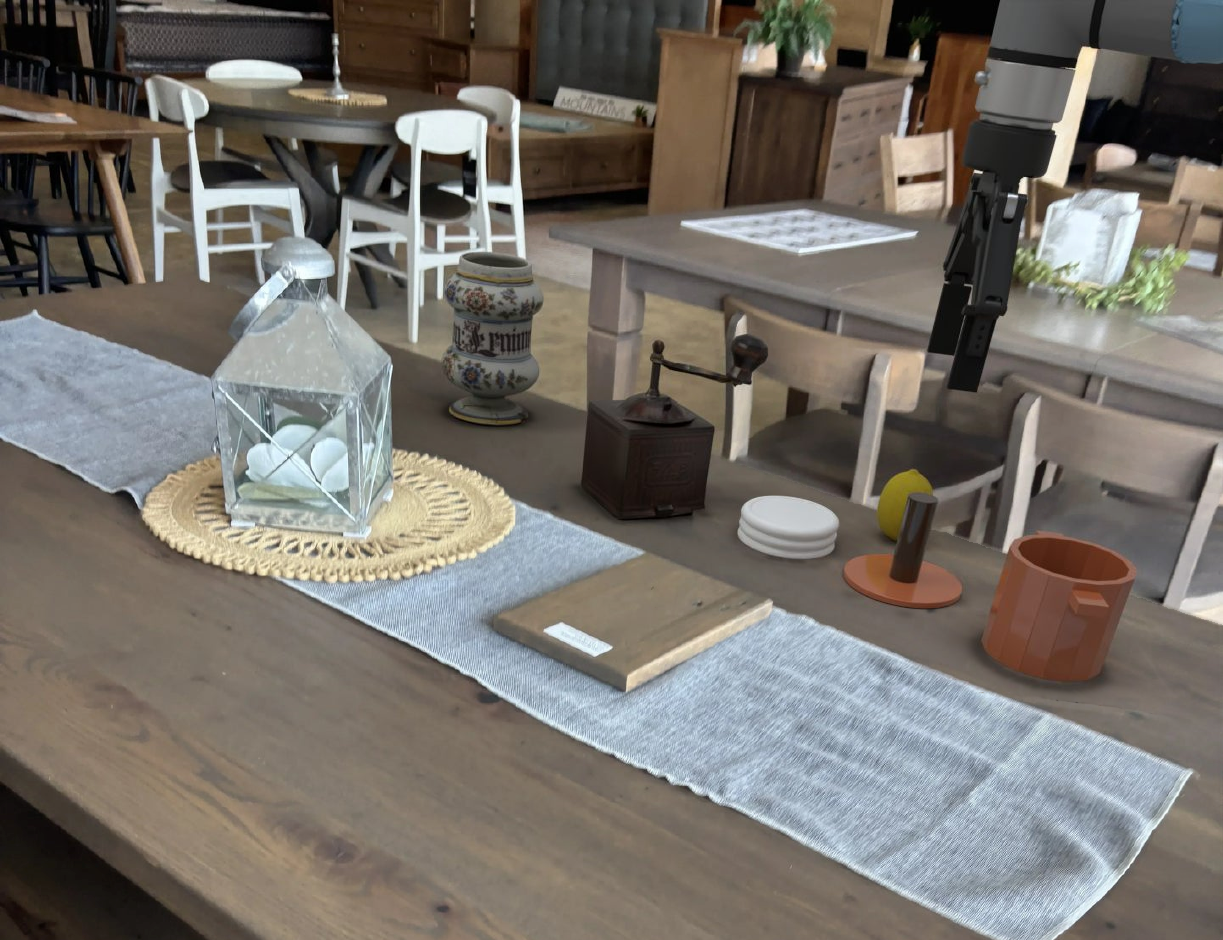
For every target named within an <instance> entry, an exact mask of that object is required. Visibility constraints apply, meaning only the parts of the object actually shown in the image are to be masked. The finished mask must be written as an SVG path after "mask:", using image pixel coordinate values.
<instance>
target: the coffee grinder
mask: <svg viewBox="0 0 1223 940" xmlns="http://www.w3.org/2000/svg"><path fill="white" fill-rule="evenodd" d="M651 347H652V348H651V349H652V352H651V354H650V356H649V361H650V362H651V372H650V381H649V388H648V389H647V391H645V392H640V393H635V394H633V395H631V396H628V397H626V398H625V399H608V400H589V402H588V405H587V416H586V424H585V425H586V427H585V436H584V449H583V458H582V459H583V460H582V469H581V470H582V472H581V479H580V485H581V487H582V488H583V489H584V491H585V492H586V493H587V494H588V495H589V496H591V497H592V498H593V499H594V500H595V501H596V502H597V503H599V504H600V505H601V506H602V507H603V508H604V509H605V510H607V511H608V512H609V513H610V514H611V515H613V516H614V517H615V518H617V519H619V520H636V519H637V520H638V519H651V518H655V519H656V518H667V517H673V516H679V515H689V514H693V513H694V511H696V510H704V509H706V506H705V501H706V492H707V484H708V478H709V471H710V464H711V457H712V449H713V443H714V438H715V437H714V436H715V432H716V431H715V430H716V429H715V425H714V424H712V423H711V422H709V421H708V420H706V419H705V418H703V417H702V416H700V415H698V414H697V413H695V412H693V410H691V409H689V408H687V407H686V406H684V405H682V404H680V403H678V401H676V400H675V399H674V398H672V397H671V396H669V395H667V394H664V393H661V392H660V376H661V369H662V368H661V367H662V366H663V367H664V368H666V369H667V370H669V371H672V372H678V373H681V374H682V373H683V374H687V375H688V374H689V375H692V376H696V377H697V376H698V377H701V378H704V379H708V380H711V381H714V382H717V383H719V384H732V386H733V387H734V388H736V387H737V386H742V385H747V386H751V385H752V383H753V380H752V378H753V376H752V375H753V373H754V371H756V370H757V368H759V367H760V366H761V365H763V364H765V363H766V361H767V360H768V357H769V348H768V347H769V346H767V345H766V343H765V342H764V341H763V339H761V338H760V337H758V336H757V335H753V334H750V333H743V334H739V335H736V336H735V337H734V338H733V339H732V341H731V343H730V352H731V356H732V364H731V367H730V368H729V370H728V371H726V373H725V374H722V373H719V372H715V371H712V370H709V369H707V368H703V367H700V366H696V365H691V364H686V363H681V362H673V361H670V360H667V359H665V356H664V354H663V353H664V350H665V347H666V346H665V343H664V341H662V340H660V339H655V340H654V342H653V343H652V345H651Z"/></svg>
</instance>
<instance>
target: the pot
mask: <svg viewBox="0 0 1223 940" xmlns="http://www.w3.org/2000/svg"><path fill="white" fill-rule="evenodd" d="M1137 574H1138V569H1137V568H1136V566H1135V565H1134V564H1133V562H1132V561H1131V560H1130V559H1128V558H1126V557H1125V556H1123V554H1120V553H1119V552H1117V551H1116V550H1113V549H1110V548H1108V547H1106V546H1103V545H1100V544H1098V543H1095V542H1092V541H1087V540H1084V539H1079V538H1075V537H1070V536H1065V535H1064V533H1061V532H1053V531H1043V530H1036V531H1035V534H1027V535H1023V536H1020V537H1017V538H1014V539H1013V541H1012V542H1011V544H1010V545H1009V547H1008V550H1007V554H1006V557H1005V561H1004V564H1003V567H1002V570H1001V574H1000V577H999V580H998V583H997V587H996V591H995V594H994V597H993V600H992V604H991V607H990V610H989V613H988V616H987V620H986V624H985V627H984V630H983V634H982V636H981V637H982V638H981V640H980V641H981V644H982V646H983V649H984V651H985V652H986V654H988V655H989V656H990V657H991V658H993V659H994V660H995V661H996V662H998V663H999V664H1001V665H1004V666H1005V667H1007V668H1010V669H1012V670H1014V671H1016V672H1019V673H1021V674H1024V675H1028V676H1031V677H1034V678H1035V677H1036V678H1038V679H1041V680H1046V681H1047V680H1049V681H1056V682H1065V683H1070V682H1071V683H1072V682H1083V681H1088V680H1091V679H1093V678H1095V677H1097V676H1099V675H1100V674H1101V672H1102V669H1103V666H1104V664H1105V660H1106V658H1107V655H1108V652H1109V650H1110V647H1111V644H1112V641H1113V640H1114V637H1115V634H1116V631H1117V628H1118V626H1119V623H1120V620H1121V618H1122V615H1123V612H1124V610H1125V607H1126V604H1127V601H1128V598H1129V596H1130V593H1131V590H1132V588H1133V586H1134V583H1135V580H1136V577H1137Z"/></svg>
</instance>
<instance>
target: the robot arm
mask: <svg viewBox="0 0 1223 940" xmlns="http://www.w3.org/2000/svg"><path fill="white" fill-rule="evenodd" d="M1083 47H1084V48H1090V49H1093V50H1107V51H1114V52H1120V53H1125V54H1132V55H1139V56H1144V57H1152V58H1160V59H1166V60H1174V61H1176V62H1177V61H1178V62H1180V63H1182V64H1187V63H1188V64H1198V63H1203V64H1213V65H1219V64H1222V63H1223V0H1000V1H999V4H998V7H997V13H996V17H995V22H994V26H993V31H992V35H991V39H990V43H989V48H988V51H987V55H986V57H987V58H986V61H985V64H984V69H985V70H979V71H977V72H976V73H975V75H974V76H975V77H974V82H975V83H974V84H977V85H980V86H979V90H978V92H977V97H976V101H975V105H974V109H975V110H976V112H978V113H980V114H979V118H975V119H973V121H972V122H970V124H969V128H968V131H967V136H966V140H965V143H964V148H963V152H962V157H961V162H962V165H963V166H964V167H966V168H968V169H971V170H973V171H977V172H973V174H972V176H971V177H970V180H969V181H970V183H969V187H968V191H967V194H966V198H965V201H964V204H963V206H962V209H961V212H960V215H959V218H958V222H957V224H956V227H955V229H954V233H953V236H952V239H951V242H950V245H949V247H948V250H947V254H946V255H945V259H944V261H943V262H942V268H943V271H944V273H943V278H944V280H943V281H944V282H943V284H942V288H941V293H940V296H939V300H938V305H937V310H936V313H935V317H934V321H933V325H932V329H931V333H930V337H929V341H928V345H927V349H926V352H927V354H928V353H929V354H935V355H936V354H937V355H944V356H953V360H952V365H951V369H950V372H949V377H948V380H947V384H946V388H947V390H954V391H960V392H967V393H976V394H977V393H978V390H979V386H980V383H981V379H982V375H983V372H984V368H985V364H986V361H987V357H988V353H989V350H990V346H991V342H992V339H993V335H994V333H995V328H996V324H997V321H998V320H999V318H1000V317H1004V316H1005V315H1006V313H1007V311H1008V303H1009V297H1010V291H1011V285H1012V279H1013V275H1014V274H1013V273H1014V269H1015V261H1016V257H1017V251H1018V245H1019V239H1020V232H1021V228H1022V222H1023V218H1024V214H1025V210H1026V206H1027V205H1028V202H1029V201H1028V194H1026V193H1021V192H1019V190H1020V183H1021V180H1022V179H1024V178H1028V179H1039V178H1042V177H1044V176H1045V175H1046V174H1047V173H1048V169H1049V165H1050V162H1051V159H1052V155H1053V151H1054V148H1055V145H1056V140H1057V137H1058V135H1057V134H1056V131H1055V129H1053V128H1054V124H1059V123H1060V122H1062V121H1063V117H1064V114H1065V110H1066V107H1067V103H1068V99H1069V96H1070V93H1071V89H1072V86H1073V82H1074V78H1075V75H1076V71H1077V70H1076V68H1077V64H1078V60H1079V56H1080V53H1081V51H1082V49H1083ZM968 285H969V286H968ZM970 285H971V286H970ZM970 297H971V298H970ZM969 301H970V304H969Z"/></svg>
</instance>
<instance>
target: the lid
mask: <svg viewBox="0 0 1223 940" xmlns="http://www.w3.org/2000/svg"><path fill="white" fill-rule="evenodd" d="M938 504H939V498H938V497H936V496H935V495H934V494H933V495H930V494H927V493H922V492H913V493H910V494H909V495H908V498H907V503H906V507H905V511H904V515H903V519H902V523H901V527H900V531H899V535H898V540H897V541H896V544H895V548H894V553H893V554H889V553H888V554H887V553H873V554H864V555H859V556H856V557H854V558H852V559H850V560H849V561H847V563H845V566H844V569H843V579H844V580H845V581H846V583H847V584H848V585H849V586H850V587H851V588H852V589H854V590H855V591H857V592H858V593H860V594H862V595H864V596H866V597H868V598H870V599H873V600H875V601H879V602H882V603H884V604H889V605H892V606H897V607H904V608H909V609H939V608H944V607H948V606H951V605H953V604H955V603H957V602H958V600H960V598H961V597H962V594H963V585H962V582H961V581H960V579H958V578H957V577H956V576H955V575H954V574H953V573H952V572H950V571H948V570H947V569H945V568H943V567H941V566H940V565H939V566H938V565H936V564H933V563H931V562H928V561H925V560H924V558H925V555H926V551H927V546H928V543H929V538H930V535H931V531H932V528H933V524H934V519H935V516H936V512H937V508H938Z"/></svg>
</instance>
